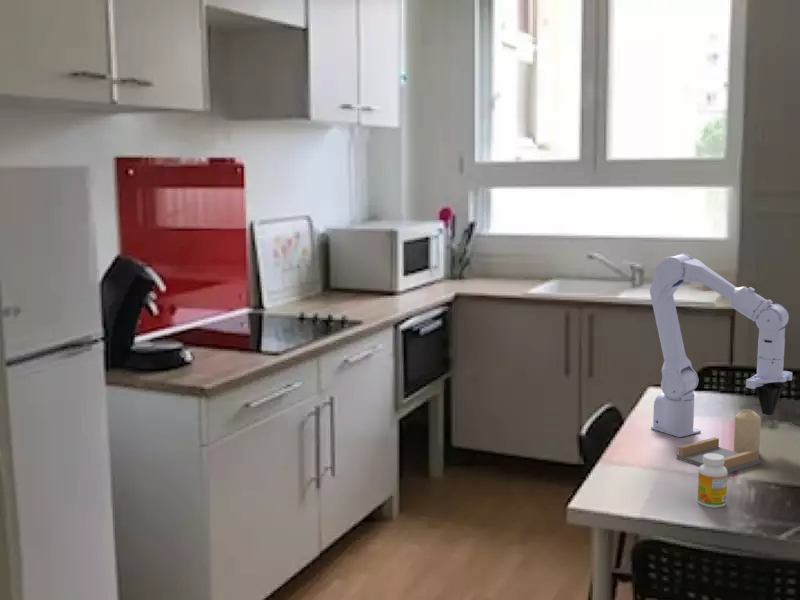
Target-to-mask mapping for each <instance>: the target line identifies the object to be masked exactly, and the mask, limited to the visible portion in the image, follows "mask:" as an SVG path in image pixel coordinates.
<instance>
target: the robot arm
mask: <svg viewBox="0 0 800 600" xmlns="http://www.w3.org/2000/svg"><path fill="white" fill-rule="evenodd" d="M653 270H654V276H653V279H652V282H651V286H650V288H649V294H650V298H651V299H650V300H651V304H652V309H653V314H654V317H655V318H654V319H655V323H656V328H657V331H658V332H657V333H658V336H659V342H660V346H661V351H662V356H663V364H662V367H661V376H662V377H661V382H660V388H661V391H662V392H661V393H659V394H658V395H657V396H656V397H655V400H654V401H653V417H652V418H653V421H652V424H653V425H652V426H650V429H652V430H655V431H658V432H661V433H665V434H668V435H671V436H675V437H677V438H683V437H687V436H690V435H694V434H698V433H701V431H702V430H701V429H700V428H699V429H698V428H695V427H694V421H695V420H694V418H695V417H694V416H695V397H696V396H695V393H694V390H695V389H696V388H697V387H698V385H699V375H698V374H697V372H696V370H694V368H693V365H692V361H691V360H690V359H689V358H688V356H687V354H686V350H685V346H684V340H683V337H682V336H683V335H682V331H681V325H680V322H679V316H678V312H677V307H676V303H675V298H674V294H675V292H676V291H677V290H678V288H679V287H680V286H681V284H683V283H686V282H690V283H691V282H692V283H696V282H698V283H700V284H702V285H704V286H705V287H707V288H709V289H710V290H712V291H714V292H716V293H717V294H719V295H721V296H723V297H724V298H726V299H727V300H728V302H729V306H730V307H731V308H732V309H734V310H735V311H737V312H738V313H739V314H742V315H743V316H745V317H746V318H748V319H749V320H751V321H753V322H755V324H756V327H757V328H758V339H757V341H758V342H757V357H756V359H757V360H756V374H754V375H753V376H750V378H746V379H745V380H746V381H745V388H747V389H751V390H754V391H755V393H756V396H757V397H758V400H759V405H760V409H761V414H763V415H767V416H773V415H774V414H775V410H776V406H777V403H778V402H779V399H780V397H781V395H782V394H783V392H784V390H785V388H786V385H785V384H783V383H786V382H787V381H788V382H789V381H792V380H793V371H788V370H784V366H785V365H784V363H785V362H784V361H785V342H786V338H785V335H786V326H787V324H788V322H789V319H790V317H789V312H788V310H787V309H786V308H785V307H784V306H783V305H782V304H778V303H774V302H773V300H772V299H766V298H764V297H763V296H761V295H760V294H757V292H755V291H756V289H755V288H753V287H751V286H749V287H747V286H740V287H737V286H735V285H734V284H732V283H731V282H730V281H728V280H727V279H725V277H723V276H721V275H720V274H718V273H717V272H716V271H714V270H712V269H711V268H710V267H709V266H707V265H706V264H704V262H702V261H700V260H699V259H697V258H694V257H693V256H691V255H690V254H687V253H679V254H677V255H674V256H667V257H664V258H663V259H662V260H661V261H660V262H658V264H657V265H656V266H655V267H654V269H653Z"/></svg>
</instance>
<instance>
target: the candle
mask: <svg viewBox="0 0 800 600" xmlns="http://www.w3.org/2000/svg"><path fill="white" fill-rule="evenodd" d="M761 418H762V417H761V416H760V415H759V414H758V413H756V412H755V411H754V410H752V409H750V408H748V409H742V410H740V411H739V412H738V413H737V414H736V415H735V418H734V419H735V420H734V437H733V438H734V439H733V451H734V452H737V453H743V452H746V451H750V450H753V449H755V450H759V451H760V443H761V442H760V441H761V422H762V421H761V420H762V419H761Z"/></svg>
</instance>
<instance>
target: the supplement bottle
mask: <svg viewBox="0 0 800 600" xmlns="http://www.w3.org/2000/svg"><path fill="white" fill-rule="evenodd" d="M703 463H704V464H703V465H701V466H699V467H698V481H697V482H698V484H697V486H698V487H697V502H698V503H699V504H700V505H701V506H703V507H706V508H712V509H713V508H722V507H725V506H726V505H727V504H726V503H727V494H728V491H727V489H728V473H727V469H726V468H725V467H724V466H723V465H724V456H723V455H720V454H716V453H707V454H704V455H703Z"/></svg>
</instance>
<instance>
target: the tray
mask: <svg viewBox="0 0 800 600" xmlns="http://www.w3.org/2000/svg"><path fill="white" fill-rule="evenodd" d="M719 440H720V438H719V437H710V438H707V439H703V440H700V441H696V442H692V443H688V444H685V445H680V446H678V454H676V459H678V458H679V459H678V460H681V459H682V460H681V461H684V460H686V461H685V462H687V461H688V462H687V463H690V462H691V463H690V464H693V465H696V464H697V465H696V466H699V467H700V466H701V465H703V464H704V463H703V455H704V454H707V453H716V454H720V455H723V456H724V465H723V466H724V467H725V468H726V469H727V474H729V473H732V472H735V471H739V470H743V469H745V468H749V467H753V466H755V465H759V464H761V459H759V457H760V456H759V455H760V449H759V450H755V449H753V450H750V451H746V452H743V453H737V452H734V450H729V449H726V448H724V447H721V446H720V445H719V444H720V441H719ZM752 465H753V466H752Z"/></svg>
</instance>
